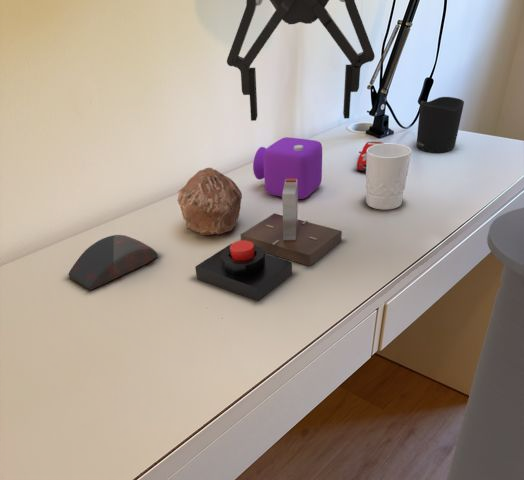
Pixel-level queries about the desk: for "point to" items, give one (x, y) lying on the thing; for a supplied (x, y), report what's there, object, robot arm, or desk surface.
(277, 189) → the toy camera
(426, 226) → the desk surface
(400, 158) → the white cup
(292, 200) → the tap handle
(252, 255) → the button
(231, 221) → the decorative rock
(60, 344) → the desk surface
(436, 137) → the pen holder
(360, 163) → the race car
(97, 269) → the dark grey rounded block
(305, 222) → the panel
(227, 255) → the button block
